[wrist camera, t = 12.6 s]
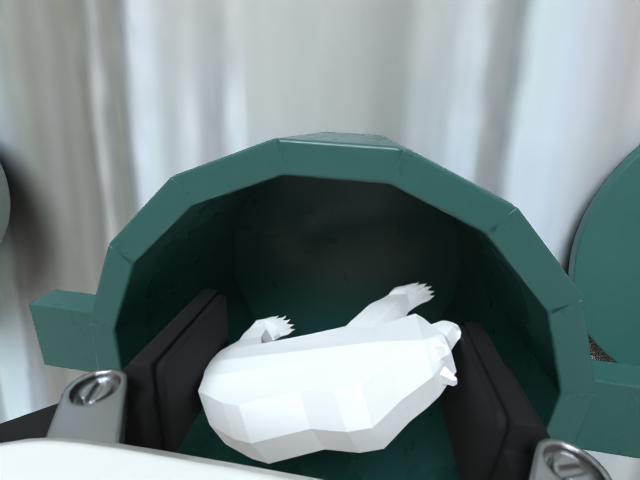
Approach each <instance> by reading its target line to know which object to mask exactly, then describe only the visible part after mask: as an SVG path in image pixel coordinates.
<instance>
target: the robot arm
mask: <svg viewBox="0 0 640 480" xmlns="http://www.w3.org/2000/svg"><path fill="white" fill-rule="evenodd" d="M458 326H459V328H460V331H461V336H460V339H459V340H458V341H457V343H456V344H455V345H454V347H453V348H452V350H451V352H452V356H453V360H454V364H455V368H456V373H455V375H454V376H455V377H456V378H457V384H456V385H455V386H451V385H447V386H446V388H445V389H444V390H443V392H442V393H441V395H440V396H439V399H440V403H441V407H442V411H443V415H444V419H445V423H446V427H447V431H448V434H449V438H450V442H451V446H452V450H453V454H454V458H455V462H456V466H457V470H458V473H459V477H460V480H612V479H611V477H610V475H609V474H608V472H607V471H606V469H605V468H604V467H603V466H602V465H601V464H600V463H599V462H598V461H597V460H596V459H595V458H594V457H592V456H591V455H590V454H589V453H587V452H586V451H584V450H583V449H581V448H579V447H578V446H576V445H574V444H571V443H569V442H567V441H564V440H560V439H555V438H551V437H550V436H549V434H548V432H547V430H546V429H545V427H544V425H543V424H542V422H541V420H540V418H539V417H538V415H537V413H536V412H535V410H534V408H533V406H532V405H531V403H530V401H529V400H528V398H527V396H526V394H525V393H524V391H523V389H522V388H521V386H520V384H519V382H518V381H517V379H516V377H515V375H514V374H513V372H512V371H511V370H510V369H509V368H506V367H505V365H504V363H503V361H502V359H501V358H500V356H499V354H498V352H497V351H496V349H495V347H494V345H493V344H492V342H491V340H490V338H489V337H488V335H487V333H486V331H485V329H484V328H483V326H482V324H481V323H475V322H468V321H461V323H460V325H458ZM226 347H228V319H227V297H226V295H222V291H221V290H214V289H203V290H202V291H201V292H200V293H199V294H198V295H197V296H196V297H195V298H194V299H193V300H192V301H191V302H190V303H189V304H188V305H187V306H186V307H185V308H184V309H183V310H182V311H181V312H180V313H179V314H178V315H177V316H176V317H175V318H174V319H173V320H172V321H171V322H170V323H169V324H168V325H167V326H166V327H165V328H164V329H163V330H162V331H161V332H160V333H159V334H158V335H157V336H156V337H155V338H154V339H153V340H152V341H151V342H150V343H149V344H148V345H147V346H146V347H145V348H144V349H143V350H142V351H141V352H140V353H139V354H138V355H137V356H136V357H135V358H134V359H133V360H131V361H130V363H129V364H128V365H127V366H126V367H125V368H124V369H123V370H122V371H121V370H119V369H114V368H106V369H99V370H95V371H92V372H89V373H87V374H85V375H82V376H81V377H79V378H77V379H76V380H74V381H73V382H72V383H71V384H70V385H69V386H68V387H66V389H65V390H64V392H63V394H62V396H61V398H60V401H59V403H58V404H55V405H52V406H49V407H47V408H44V409H41V410H38V411H35V412H32V413H30V414H27V415H24V416H21V417H18V418H15V419H13V420H10V421H7V422H4V423H1V424H0V480H322V479H317V478H312V477H306V476H301V475H295V474H290V473H285V472H279V471H274V470H268V469H263V468H257V467H252V466H247V465H241V464H235V463H230V462H224V461H219V460H213V459H207V458H202V457H196V456H191V455H185V454H179V453H175V452H176V451H177V450H178V449H179V447H180V445H181V444H182V442H183V440H184V439H185V437H186V435H187V433H188V432H189V430H190V428H191V427H192V425H193V423H194V422H195V420H196V418H197V416H198V415H199V413H200V411H201V410H202V408H203V405H202V402H201V399H200V396H199V393H198V390H199V387H200V384H201V382H202V379H203V376H204V371H205V369H206V368H207V366H208V364H209V363H210V361H211V360H212V359H213V358H214V356H215V355H216V354H217V353H218V352H220V351H221V350H223V349H224V348H226Z"/></svg>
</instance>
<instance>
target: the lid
mask: <svg viewBox="0 0 640 480" xmlns="http://www.w3.org/2000/svg"><path fill="white" fill-rule="evenodd" d="M569 278H570V279H571V280H572V282H573V283H574V284H575V286H576V287H577V288H578V290H579V291H580V292H581V294H582V295H583V300H584V304H585V312H586V320H587V328H588V335H589V336H590V338H591V339H592V340H593V341H594V342H595V343H596V344H597V345H598V347H599V348H600V349H602V350H603V351H604V352H605V353H606V354H607V355H608V356H610V357H611V358H612V359H613V360H615V361H616V362H617V363H622V364H630V365H638V366H640V145H639V146H638V147H637V148H636V149H635V150H634V151H633V152H632V153H630V154H629V155H628V156H627V157H626V158H625V159H624V160H623V161H622V162H621V164H620V165H619V166H618V167H617V168H616V169H615V170H614V171H613V172H612V173H611V174H610V176H609V177H608V178H607V180H606V181H605V182H604V184H603V185H602V186H601V188H600V189H599V190H598V192H597V193H596V195H595V196H594V198H593V200H592V201H591V203H590V205H589V207H588V208H587V210H586V212H585V214H584V215H583V218H582V220H581V223H580V225H579V227H578V230H577V232H576V235H575V238H574V242H573V246H572V250H571V254H570V263H569Z"/></svg>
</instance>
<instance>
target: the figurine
mask: <svg viewBox="0 0 640 480" xmlns="http://www.w3.org/2000/svg"><path fill="white" fill-rule="evenodd" d="M418 283H419V282H418ZM418 283H412V284H409V285H405V286H399V287H395V288H394V289H393V290H392V291H391V292H390V293H389V295H387V296H386V297H384V298H382V299H380V300H378V301H375V302H373V303H371V304H369V305H368V306H367V307H366V308H365V309H364V310H363V311H362V312H361V313H359V314H358V315H357V316H356V317H355V318H354V319H353V320H352V321H351V322H350V323H349V324H348V325H347V326H344V327H340V328H335V329H331V330H326V331H322V332H317V333H313V334H308V335H303V336H298V337H293V338H288V339H283V340H278V341H274V340H276V339H278V338H279V337H281V336H285V335H288V334H289V333H291V332H292V331H293V330H295V329H291V328H290V327H291V326H293V325H294V324H292V325H291V324H287V323H288V321H289V320H290V319H289V320H283V319H284V318H285V317H286V316H285V317H282V318H277V317H278V316H276V317H270V318H266V319H261V320H256V321H255V323H254V324H253V325H252V326H251V327H250V329H248V330H247V331H246V332H244V334H243V335H242V337H241V338H240V340H239V341H237V342H235V343H233V344H232V345H230V346H228V347H226V348H224V349H223V350H221V351H220V352H218V353H217V354H216V355H215V356H214V358H213V359H212V360H211V361H210V363H209V364H208V366H207V368H206V369H205V371H204V376H203V379H202V382H201V384H200V387H199V390H198V393H199V396H200V399H201V402H202V405H203V408H204V410H205V413H206V416H207V419H208V422H209V425H210V426H211V427H212V428H213V430H214V431H215V432H216V433H217V434H218V436H219V437H220V438H221V439H222V441H223V442H224V443H225V444H226V445H228V446H230V447H231V448H233V449H235V450H237V451H239V452H241V453H242V454H244V455H246V456H248V457H250V458H251V459H254V460H258V461H261V462H265V463H268V464H270V463H273V462H277V461H281V460H285V459H289V458H293V457H297V456H301V455H305V454H309V453H313V452H316V451H320V450H324V449H326V450H336V451H346V452H356V453H362V452H368V451H374V450H380V449H384V448H385V447H386V446H387V445H388V444H389V443H390V442H391V441H392V440H393V439H394V438H395V437H396V436H397V435H398V434H399V433H400V431H401V430H402V429H403V428H404V427H405V426H406V425H407V424H408V423H409V422H410V421H411V420H412V419H414V418H415V417H416V416H417V415H419V414H420V413H421V412H423V411H424V410H425V409H426V408H428V407H429V406H430V405H431V404H432V403H433V402H434V401H435V400H436V399H437V398H438V397H439V396H440V395H441V393H442V392H443V390H444V389H445V388H446V386H447V385H451V386H455V385H456V384H457V378H456V377H455V376H454V375H455V373H456V368H455V364H454V360H453V356H452V352H451V350H452V348H453V347H454V345H455V344H456V343H457V341H458V340H459V339H460V336H461V331H460V328H459V326H458V325H457V324H455V323H453V322H450V321H440V322H437V323H434V324H430V323H429V322H428V321H426V320H425V319H424V318H422V317H421V316H419V315H417V314H412V315H409V316H406V315H407V314H408V312H409V311H410V310H412V309H413V308H415V307H416V306H418V305H420V304H422V303H424V302H427V301H429V300H430V299H431V298H432V297H434V296H435V295H434V296H431V295H430V294H431V293H433V292H434V291H429V290H428V289H429V288H431V287H432V286H430V287H424V286H425V285H426V284H427V283H426V284H419V285H417V284H418Z"/></svg>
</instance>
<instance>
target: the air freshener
mask: <svg viewBox="0 0 640 480" xmlns="http://www.w3.org/2000/svg"><path fill="white" fill-rule="evenodd" d="M10 206H11V204H10V193H9V187H8V183H7V179H6V176H5V173H4V171H3V168H2V165H1V163H0V243H1V241H2V239H3V237H4V235H5V233H6V230H7V226H8V223H9V218H10Z"/></svg>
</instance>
